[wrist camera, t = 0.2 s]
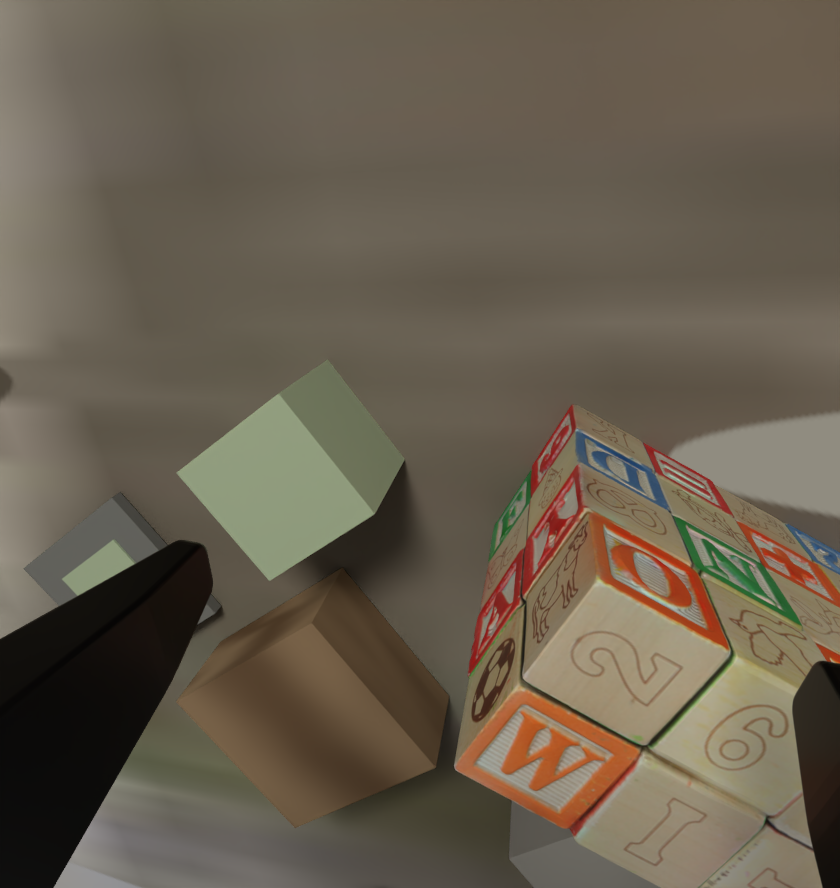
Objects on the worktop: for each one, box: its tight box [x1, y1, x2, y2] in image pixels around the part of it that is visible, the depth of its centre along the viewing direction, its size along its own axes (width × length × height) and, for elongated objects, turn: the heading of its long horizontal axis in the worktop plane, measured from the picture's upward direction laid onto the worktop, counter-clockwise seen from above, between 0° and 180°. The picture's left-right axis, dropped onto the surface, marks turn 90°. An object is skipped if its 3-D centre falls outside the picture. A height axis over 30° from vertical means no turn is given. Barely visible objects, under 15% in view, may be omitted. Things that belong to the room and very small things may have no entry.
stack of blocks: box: [454, 404, 840, 888], centre depth 19 cm, size 21×6×12 cm, turn 63°
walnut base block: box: [176, 568, 449, 828], centre depth 28 cm, size 8×8×4 cm
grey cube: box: [509, 801, 661, 888], centre depth 27 cm, size 5×5×5 cm
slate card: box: [24, 492, 221, 625], centre depth 30 cm, size 7×7×1 cm
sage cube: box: [177, 360, 405, 581], centre depth 23 cm, size 5×5×5 cm
